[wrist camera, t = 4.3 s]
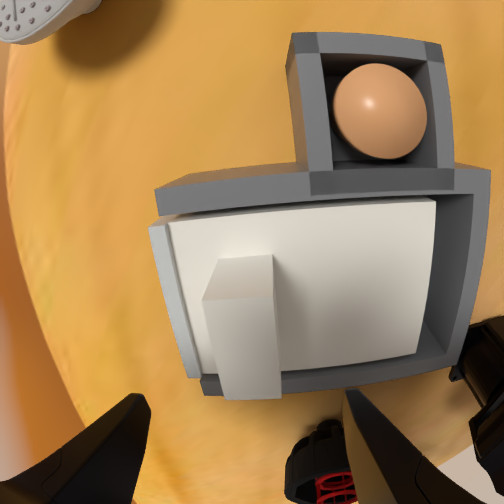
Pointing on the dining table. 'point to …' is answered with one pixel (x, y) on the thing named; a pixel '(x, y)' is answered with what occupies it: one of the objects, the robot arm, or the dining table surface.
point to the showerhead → (38, 18)
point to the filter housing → (366, 192)
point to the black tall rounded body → (320, 468)
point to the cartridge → (294, 286)
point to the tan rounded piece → (378, 111)
